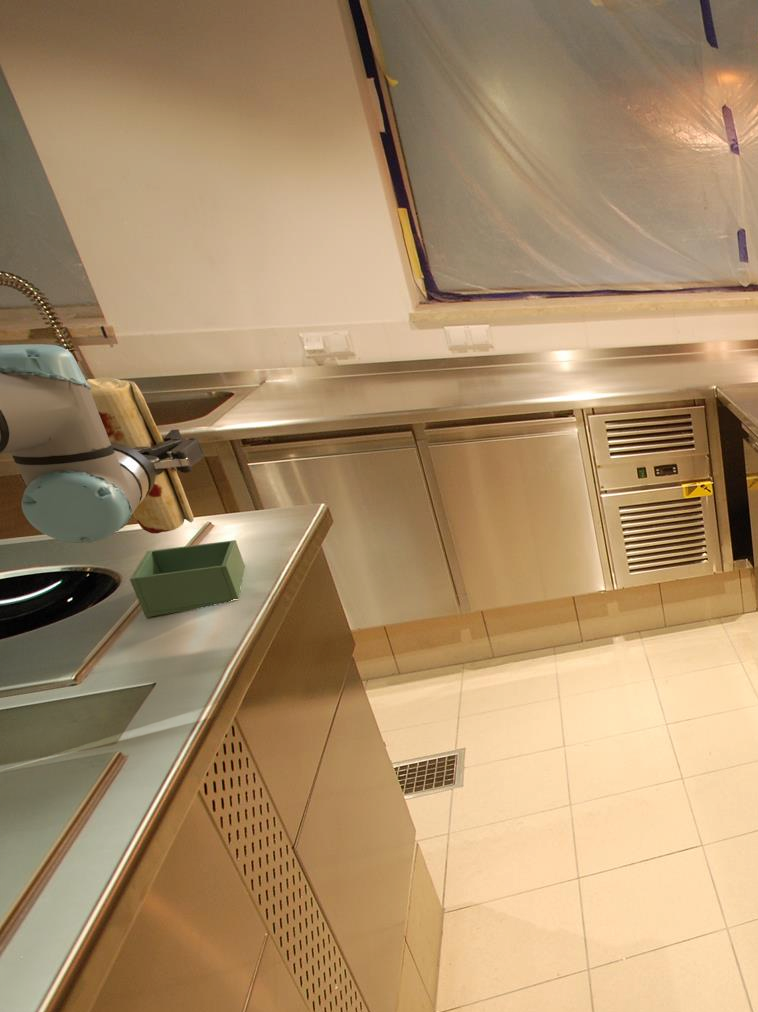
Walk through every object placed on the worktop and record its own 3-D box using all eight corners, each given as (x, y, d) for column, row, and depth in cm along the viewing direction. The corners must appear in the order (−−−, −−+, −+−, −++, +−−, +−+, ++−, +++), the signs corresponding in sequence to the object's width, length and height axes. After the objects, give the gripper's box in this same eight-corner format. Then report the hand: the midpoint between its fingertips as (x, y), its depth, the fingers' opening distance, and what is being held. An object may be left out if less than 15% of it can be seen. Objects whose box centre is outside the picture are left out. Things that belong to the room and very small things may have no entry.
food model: (135, 521, 117) (67, 374, 107) (196, 512, 120) (137, 369, 111) (135, 543, 110) (63, 388, 101) (200, 532, 114) (137, 382, 104)
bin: (145, 617, 114) (129, 579, 112) (161, 586, 124) (147, 550, 122) (239, 602, 120) (226, 566, 117) (248, 574, 130) (235, 539, 127)
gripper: (1, 522, 94) (56, 477, 111) (224, 499, 104) (243, 461, 121) (-31, 456, 91) (31, 420, 108) (202, 438, 100) (225, 408, 118)
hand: (143, 442), depth 115 cm, fingers closed on food model, 7 cm apart
